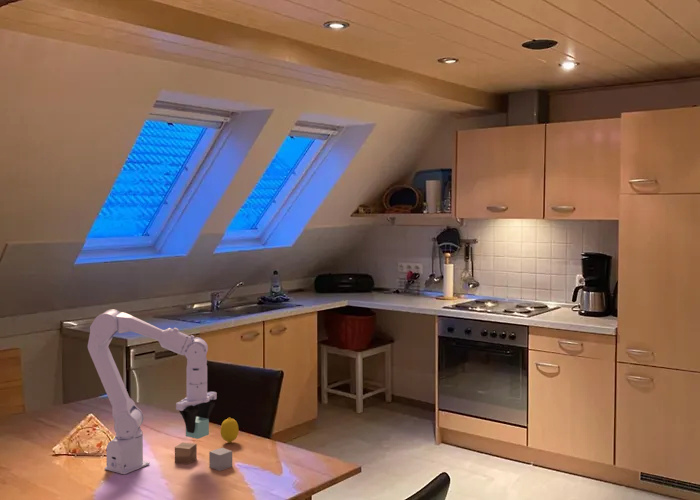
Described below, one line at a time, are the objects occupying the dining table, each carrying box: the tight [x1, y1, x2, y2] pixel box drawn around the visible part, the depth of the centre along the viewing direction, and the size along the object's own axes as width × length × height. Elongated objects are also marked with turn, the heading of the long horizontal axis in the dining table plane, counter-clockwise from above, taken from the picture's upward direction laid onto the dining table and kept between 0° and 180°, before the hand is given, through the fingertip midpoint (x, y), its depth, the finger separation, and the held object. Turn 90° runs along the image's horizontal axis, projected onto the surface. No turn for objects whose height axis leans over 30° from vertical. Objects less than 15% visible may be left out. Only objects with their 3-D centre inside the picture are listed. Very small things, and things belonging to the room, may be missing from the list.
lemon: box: [220, 417, 240, 444], centre depth 215 cm, size 6×6×8 cm
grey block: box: [208, 447, 233, 472], centre depth 195 cm, size 4×4×4 cm
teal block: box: [185, 416, 210, 440], centre depth 196 cm, size 4×4×4 cm
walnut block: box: [174, 441, 198, 465], centre depth 199 cm, size 4×4×4 cm
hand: (197, 429), depth 196 cm, fingers closed on teal block, 4 cm apart
